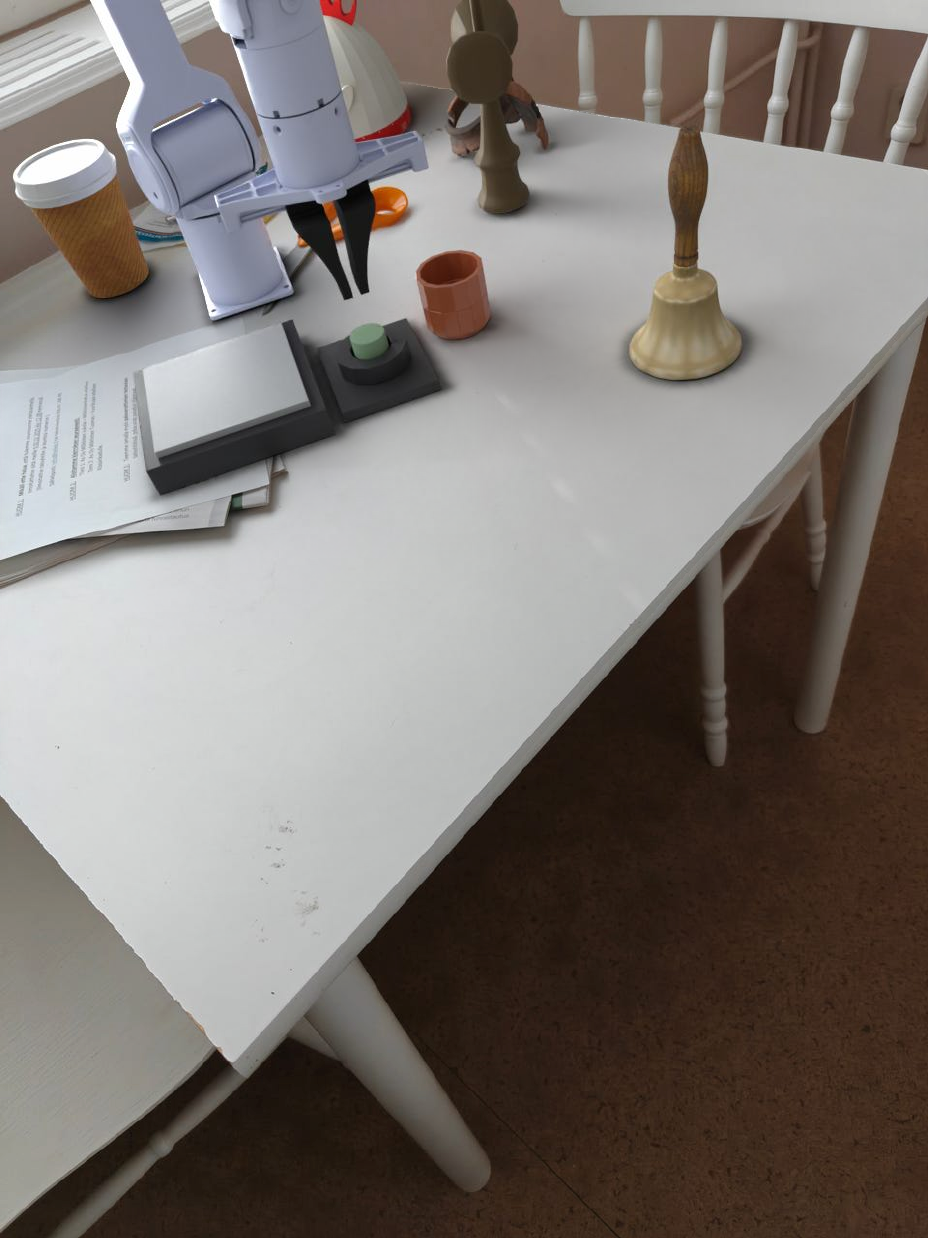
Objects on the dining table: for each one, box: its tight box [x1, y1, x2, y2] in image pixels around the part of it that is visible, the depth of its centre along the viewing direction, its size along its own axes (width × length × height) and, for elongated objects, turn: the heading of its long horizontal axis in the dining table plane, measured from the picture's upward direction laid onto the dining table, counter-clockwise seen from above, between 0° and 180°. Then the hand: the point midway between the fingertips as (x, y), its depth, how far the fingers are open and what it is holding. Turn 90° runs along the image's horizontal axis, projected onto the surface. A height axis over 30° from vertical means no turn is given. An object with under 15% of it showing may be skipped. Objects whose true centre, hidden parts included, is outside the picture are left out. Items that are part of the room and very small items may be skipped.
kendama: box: [445, 0, 530, 214], centre depth 82 cm, size 6×10×20 cm, turn 176°
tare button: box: [349, 322, 389, 359], centre depth 73 cm, size 3×3×2 cm
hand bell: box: [628, 124, 743, 381], centre depth 64 cm, size 8×8×16 cm
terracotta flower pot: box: [414, 249, 492, 341], centre depth 76 cm, size 5×6×5 cm
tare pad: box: [316, 317, 443, 423], centre depth 74 cm, size 10×8×2 cm
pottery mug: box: [444, 75, 550, 157], centre depth 96 cm, size 12×10×8 cm
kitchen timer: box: [319, 0, 412, 143], centre depth 101 cm, size 14×14×15 cm
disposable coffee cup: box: [12, 138, 150, 299], centre depth 89 cm, size 10×10×12 cm
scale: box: [132, 318, 336, 496], centre depth 74 cm, size 14×14×3 cm
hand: (354, 290), depth 69 cm, fingers closed
